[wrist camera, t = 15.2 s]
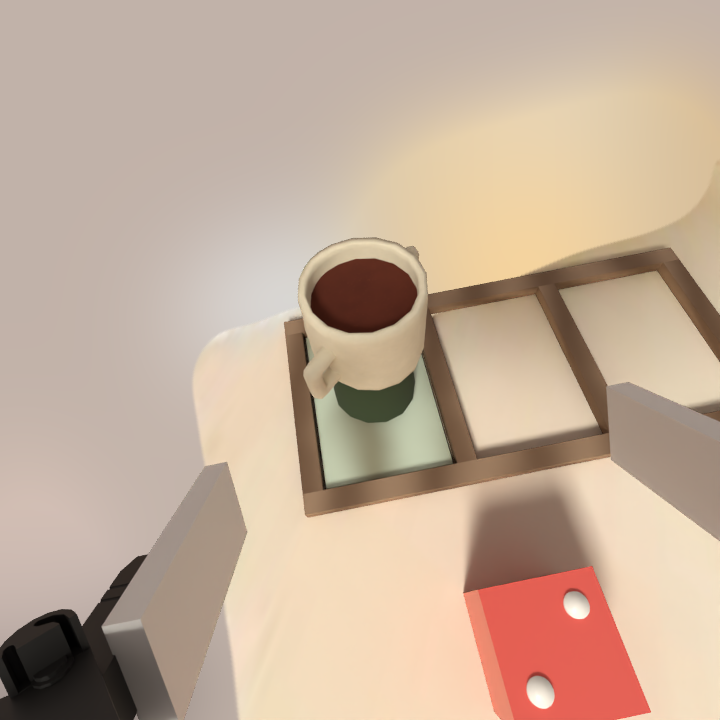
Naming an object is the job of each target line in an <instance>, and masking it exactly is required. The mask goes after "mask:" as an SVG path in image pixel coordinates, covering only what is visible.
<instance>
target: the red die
mask: <svg viewBox="0 0 720 720" xmlns="http://www.w3.org/2000/svg"><path fill="white" fill-rule="evenodd" d="M463 594H464V598H465V601H466V605H467V609H468V613H469V617H470V621H471V624H472V628H473V632H474V636H475V640H476V643H477V647H478V651H479V655H480V659H481V663H482V666H483V670H484V674H485V678H486V682H487V685H488V689H489V693H490V697H491V701H492V705H493V708H494V712H495V713H496V714H497V716H498V717H499V718H500V719H501V720H617V719H622V718H626V717H631V716H636V715H640V714H645V713H650V712H651V711H650V708H649V706H648V703H647V701H646V698H645V696H644V693H643V691H642V689H641V686H640V684H639V681H638V679H637V676H636V674H635V671H634V669H633V666H632V664H631V661H630V659H629V656H628V654H627V651H626V649H625V646H624V644H623V642H622V639H621V637H620V634H619V632H618V629H617V627H616V624H615V622H614V619H613V617H612V614H611V612H610V609H609V607H608V604H607V602H606V599H605V597H604V595H603V592H602V590H601V587H600V585H599V582H598V580H597V577H596V575H595V572H594V570H593V567H592V566H590V567H586V568H581V569H576V570H571V571H566V572H561V573H556V574H551V575H547V576H542V577H537V578H532V579H527V580H522V581H517V582H513V583H508V584H503V585H498V586H493V587H488V588H483V589H479V590H474V591H470V592H466V593H463Z"/></svg>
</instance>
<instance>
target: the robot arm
mask: <svg viewBox="0 0 720 720" xmlns="http://www.w3.org/2000/svg"><path fill="white" fill-rule="evenodd" d="M606 390H607V406H608V422H609V438H610V453H611V460H612V461H613V462H615V463H616V464H617V465H619V466H620V467H621V468H623V469H624V470H625V471H627V472H628V473H629V474H631V475H632V476H633V477H635V478H636V479H637V480H639V481H640V482H641V483H643V484H644V485H645V486H647V487H648V488H649V489H651V490H652V491H653V492H655V493H656V494H657V495H659V496H660V497H661V498H663V499H664V500H665V501H667V502H668V503H669V504H671V505H672V506H673V507H675V508H676V509H677V510H679V511H680V512H681V513H683V514H684V515H685V516H687V517H688V518H689V519H691V520H692V521H693V522H695V523H696V524H697V525H699V526H700V527H701V528H703V529H704V530H705V531H707V532H708V533H709V534H711V535H712V536H713V537H715V538H716V539H717V540H719V541H720V422H719V421H717V420H715V419H712V418H710V417H708V416H705V415H703V414H701V413H698V412H696V411H694V410H691V409H689V408H687V407H685V406H682V405H680V404H678V403H675V402H673V401H671V400H668V399H666V398H664V397H662V396H659V395H657V394H655V393H652V392H650V391H648V390H645V389H643V388H641V387H639V386H636V385H634V384H632V383H629V382H626V383H621V384H616V385H611V386H606ZM246 534H247V529H246V526H245V522H244V519H243V515H242V512H241V508H240V505H239V502H238V498H237V495H236V491H235V488H234V484H233V481H232V478H231V474H230V471H229V467H228V464H227V462H225V463H220V464H215V465H210V466H205V467H204V469H203V470H202V472H201V473H200V475H199V476H198V478H197V479H196V481H195V483H194V484H193V486H192V487H191V489H190V491H189V492H188V493H187V495H186V497H185V498H184V500H183V501H182V503H181V504H180V506H179V507H178V509H177V511H176V512H175V514H174V515H173V517H172V518H171V520H170V522H169V523H168V524H167V526H166V527H165V529H164V531H163V532H162V534H161V535H160V537H159V538H158V540H157V541H156V543H155V545H154V546H153V548H152V549H151V551H150V552H149V554H148V555H143V556H138V557H136V558H135V559H134V560H133V561H132V562H131V563H130V564H128V565H127V566H126V567H125V568H124V569H123V570H122V571H120V573H119V574H118V576H117V577H116V579H115V580H114V581H113V583H112V584H111V586H110V590H107V591H106V593H105V594H104V596H103V597H102V599H101V603H98V604H97V606H96V607H95V609H94V610H93V612H92V613H91V615H90V616H89V617H88V619H87V620H86V622H85V623H84V624H83V626H81V624H80V621H79V619H78V616H77V614H76V613H75V612H74V611H72V610H68V609H61V610H57V611H53V612H50V613H47V614H45V615H43V616H41V617H38V618H36V619H34V620H32V621H31V622H29V623H28V624H26V625H25V626H23V627H22V628H20V629H19V630H17V631H16V632H15V633H14V634H13V635H12V636H10V637H9V638H8V639H7V640H6V641H5V642H4V643H3V645H2V646H1V647H0V678H1V680H2V682H3V684H4V686H5V689H6V691H7V692H8V696H6V697H4V698H1V699H0V720H133V719H134V717H135V715H136V714H137V716H138V719H139V720H184V718H185V715H186V712H187V709H188V706H189V703H190V700H191V697H192V694H193V691H194V689H195V685H196V683H197V680H198V677H199V674H200V671H201V668H202V665H203V662H204V659H205V656H206V653H207V650H208V647H209V644H210V641H211V638H212V635H213V632H214V629H215V626H216V623H217V620H218V617H219V614H220V612H221V609H222V606H223V603H224V600H225V597H226V594H227V591H228V588H229V585H230V582H231V579H232V576H233V573H234V570H235V567H236V564H237V561H238V558H239V555H240V552H241V549H242V546H243V543H244V540H245V537H246Z"/></svg>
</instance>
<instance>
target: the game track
mask: <svg viewBox="0 0 720 720" xmlns="http://www.w3.org/2000/svg"><path fill="white" fill-rule="evenodd" d="M656 270H658V272H659V273H660V275H661V276H662V278H663V279H664V281H665V282H666V284H667V285H668V287H669V288H670V289H671V291H672V292H673V294H674V295H675V297H676V298H677V300H678V301H679V303H680V304H681V305H682V307H683V308H684V310H685V311H686V313H687V314H688V316H689V317H690V319H691V320H692V322H693V323H694V324H695V326H696V327H697V329H698V330H699V332H700V333H701V335H702V336H703V338H704V339H705V341H706V342H707V343H708V345H709V346H710V348H711V349H712V351H713V352H714V354H715V355H716V357H717V358H718V360H719V361H720V315H719V313H718V312H717V311H716V309H715V308H714V307H713V305H712V304H711V303H710V301H709V300H708V298H707V297H706V296H705V294H704V293H703V292H702V290H701V289H700V287H699V286H698V285H697V283H696V282H695V281H694V279H693V278H692V276H691V275H690V274H689V272H688V271H687V270H686V268H685V267H684V266H683V264H682V263H681V261H680V260H679V259H678V257H677V256H676V255H675V253H674V252H673V250H672V249H671V248H666V249H661V250H655V251H650V252H645V253H640V254H635V255H630V256H624V257H619V258H614V259H609V260H604V261H599V262H593V263H588V264H583V265H578V266H573V267H568V268H562V269H557V270H552V271H547V272H542V273H536V274H531V275H526V276H521V277H516V278H511V279H505V280H500V281H496V282H490V283H485V284H480V285H474V286H469V287H464V288H459V289H454V290H449V291H443V292H438V293H433V294H428V304H427V316H426V328H425V339H424V348H423V351H422V352H423V356H424V359H425V363H426V366H427V369H428V373H429V376H430V380H431V383H432V386H433V390H434V393H435V397H436V400H437V404H438V407H439V410H440V414H441V417H442V421H443V424H444V428H445V431H446V434H447V438H448V441H449V445H450V448H451V452H452V455H453V458H454V462H455V464H453V461H452V458H451V454H450V451H449V447H448V444H447V440H446V437H445V434H444V430H443V427H442V423H441V420H440V416H439V413H438V409H437V406H436V403H435V399H434V396H433V392H432V389H431V385H430V382H429V378H428V375H427V372H426V368H425V365H424V361H423V358H422V354H421V356H420V358H419V361H418V363H417V366H416V368H415V370H414V378H415V386H414V395H413V400H412V401H411V403H410V404H409V406H408V407H407V408H406V410H405V411H404V413H403V414H401V415H399V416H397V417H395V418H393V419H391V420H390V421H388V422H377V423H366V422H364V421H361V420H358V419H355V418H353V417H350V416H349V415H348V414H347V413H346V412H345V411H344V410H343V409H342V408H341V407H340V406H339V405H338V402H337V398H336V395H335V391H334V387H333V388H332V389H331V391H330V392H329V393H328V394H327V395H326V396H325V397H324V398H323V399H317V398H314V402H315V409H316V417H317V424H318V431H319V439H320V446H321V453H322V461H323V468H324V475H325V482H326V490H324V484H323V476H322V469H321V461H320V454H319V446H318V439H317V432H316V424H315V417H314V409H313V402H312V394H311V392H310V391H309V388H308V386H307V383H306V381H305V379H304V376H303V375H304V369H305V368H306V366H307V357H306V350H305V343H304V339H305V338H306V344H307V351H308V358H309V362H310V361H311V360H312V358H313V357H314V354H313V351H312V349H311V345H310V342H309V339H308V336H307V334H306V331H305V327H304V321H303V319H299V320H293V321H288V322H284V327H285V336H286V345H287V354H288V363H289V372H290V381H291V391H292V400H293V409H294V418H295V427H296V436H297V445H298V454H299V463H300V473H301V482H302V491H303V500H304V509H305V515H306V516H307V517H313V516H318V515H323V514H328V513H333V512H338V511H343V510H348V509H353V508H358V507H363V506H368V505H373V504H378V503H382V502H387V501H392V500H397V499H402V498H407V497H412V496H417V495H422V494H427V493H432V492H437V491H442V490H447V489H452V488H457V487H462V486H467V485H472V484H477V483H482V482H487V481H492V480H497V479H502V478H507V477H512V476H517V475H522V474H527V473H531V472H536V471H541V470H546V469H551V468H556V467H561V466H566V465H571V464H576V463H581V462H586V461H591V460H596V459H601V458H606V457H611V453H610V438H609V422H608V406H607V390H606V386H607V384H606V382H605V380H604V378H603V376H602V374H601V372H600V370H599V368H598V366H597V364H596V363H595V361H594V359H593V357H592V355H591V353H590V351H589V349H588V347H587V345H586V343H585V341H584V339H583V337H582V336H581V334H580V332H579V330H578V328H577V326H576V324H575V322H574V320H573V318H572V316H571V314H570V312H569V310H568V309H567V307H566V305H565V303H564V301H563V299H562V297H561V295H560V293H559V291H558V289H563V288H568V287H573V286H578V285H584V284H589V283H594V282H599V281H604V280H609V279H615V278H620V277H625V276H630V275H635V274H640V273H645V272H651V271H656ZM532 294H536V296H537V298H538V300H539V302H540V304H541V306H542V308H543V310H544V313H545V315H546V317H547V319H548V321H549V323H550V325H551V327H552V329H553V331H554V333H555V335H556V337H557V339H558V342H559V344H560V346H561V348H562V350H563V352H564V354H565V356H566V358H567V360H568V362H569V364H570V366H571V368H572V371H573V373H574V375H575V377H576V379H577V381H578V383H579V385H580V387H581V389H582V391H583V393H584V395H585V397H586V400H587V402H588V404H589V406H590V408H591V410H592V412H593V414H594V416H595V418H596V420H597V422H598V424H599V426H600V429H601V431H602V433H603V434H601V435H596V436H591V437H586V438H581V439H576V440H571V441H566V442H561V443H556V444H551V445H546V446H541V447H536V448H531V449H526V450H521V451H516V452H511V453H506V454H501V455H496V456H491V457H486V458H481V459H477V457H476V454H475V451H474V448H473V445H472V441H471V438H470V435H469V432H468V429H467V426H466V423H465V420H464V416H463V413H462V410H461V407H460V404H459V401H458V398H457V395H456V391H455V388H454V385H453V382H452V379H451V376H450V373H449V370H448V366H447V363H446V360H445V357H444V354H443V351H442V348H441V345H440V341H439V338H438V335H437V332H436V329H435V326H434V323H433V320H432V316H431V314H434V313H439V312H445V311H450V310H455V309H460V308H465V307H470V306H475V305H481V304H486V303H491V302H496V301H501V300H506V299H512V298H517V297H522V296H527V295H532ZM325 371H326V370H325ZM325 371H324V372H325ZM703 415H705V416H708V417H710V418H712V419H715V420H717V421H719V422H720V411H716V412H711V413H706V414H703Z"/></svg>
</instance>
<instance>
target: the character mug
mask: <svg viewBox="0 0 720 720" xmlns="http://www.w3.org/2000/svg"><path fill="white" fill-rule="evenodd" d="M418 259H419V254H418V251H417V250H416V248H415V247H414V246H411V247H407V248H404V247H403V246H401V245H400V244H398V243H395V242H391V241H387V240H383V239H379V238H351V239H348V240H345V241H341V242H338V243H335V244H332V245H330V246H328V247H326V248H325V249H323V250H321V251H320V252H318V253H317V254H316V255H315V256H313V257H312V258H311V259H310V260H309V262H308V263H307V264H306V266H305V267H304V269H303V271H302V273H301V276H300V278H299V285H298V303H299V306H300V309H301V312H302V315H303V321H304V327H305V331H306V334H307V336H308V339H309V342H310V345H311V349H312V351H313V354H314V357H313V358H312V360H311V361H310V362H309V363H308V364H307V366H306V368H305V369H304V375H303V376H304V379H305V381H306V383H307V386H308V388H309V391H310V392H311V394H312V396H313V397H314V398H317V399H323V398H324V397H325V396H326V395H327V394H328V393H329V392H330V391H331V389H332V388H333V387H334V391H335V395H336V398H337V402H338V405H339V406H340V407H341V408H342V409H343V410H344V411H345V412H346V413H347V414H348V415H349V416H350V417H353V418H355V419H358V420H361V421H364V422H366V423H377V422H388V421H390V420H391V419H393V418H395V417H397V416H399V415H401V414H403V413H404V411H405V410H406V408H407V407H408V406H409V404H410V403H411V401H412V400H413V395H414V386H415V378H414V370H415V368H416V366H417V363H418V361H419V358H420V356H421V353H422V351H423V348H424V339H425V328H426V316H427V304H428V291H427V276H426V272H425V270H424V269H423V267H422V265H421V263H420V262H419V260H418ZM325 370H326V371H325ZM324 371H325V372H324Z"/></svg>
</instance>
